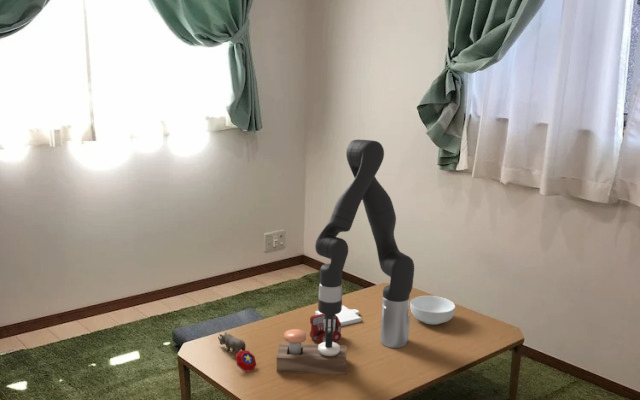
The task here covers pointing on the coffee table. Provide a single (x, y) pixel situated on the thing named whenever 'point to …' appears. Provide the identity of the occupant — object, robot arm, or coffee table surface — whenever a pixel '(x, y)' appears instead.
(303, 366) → the plunger block
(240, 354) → the button
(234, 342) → the rhino figurine
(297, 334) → the peach dome
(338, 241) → the robot arm
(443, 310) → the cereal bowl
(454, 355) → the coffee table surface
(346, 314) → the mounting plate
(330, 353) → the white mushroom knob
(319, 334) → the toy fire truck
